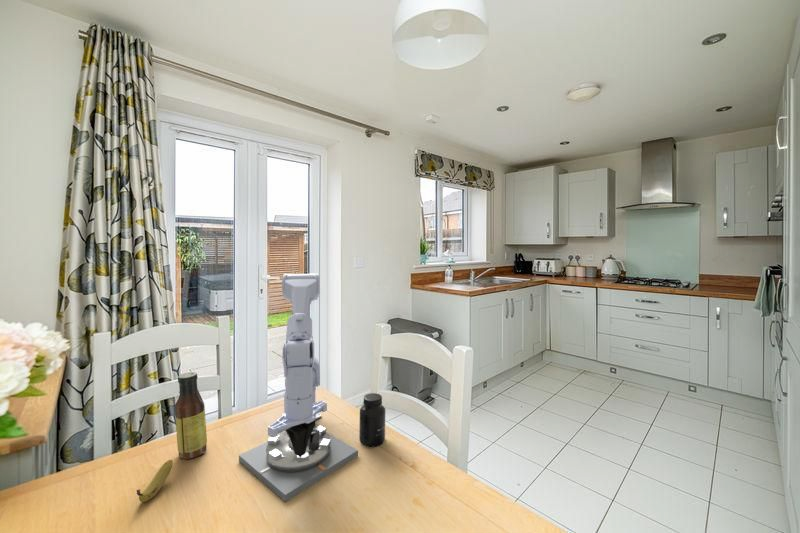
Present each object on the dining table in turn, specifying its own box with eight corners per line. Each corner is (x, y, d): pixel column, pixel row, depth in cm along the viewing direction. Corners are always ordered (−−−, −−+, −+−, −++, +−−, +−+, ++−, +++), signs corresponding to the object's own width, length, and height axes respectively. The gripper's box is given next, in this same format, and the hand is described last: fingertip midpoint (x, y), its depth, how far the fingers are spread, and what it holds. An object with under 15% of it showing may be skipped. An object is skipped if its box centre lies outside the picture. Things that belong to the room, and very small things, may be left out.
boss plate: (239, 461, 83) (238, 454, 83) (309, 427, 98) (309, 421, 98) (285, 502, 70) (285, 494, 70) (358, 455, 85) (358, 449, 85)
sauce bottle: (212, 446, 89) (210, 370, 87) (195, 461, 82) (193, 380, 81) (188, 444, 89) (186, 369, 88) (170, 459, 83) (167, 378, 82)
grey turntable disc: (253, 455, 82) (252, 427, 82) (305, 428, 94) (304, 404, 94) (292, 481, 73) (291, 450, 73) (343, 448, 85) (343, 421, 85)
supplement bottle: (384, 448, 88) (384, 403, 88) (357, 448, 89) (357, 402, 88) (386, 433, 95) (386, 391, 94) (361, 433, 95) (361, 391, 95)
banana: (166, 475, 78) (165, 458, 77) (177, 475, 78) (176, 458, 77) (131, 510, 67) (130, 491, 67) (144, 510, 67) (143, 491, 67)
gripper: (282, 412, 68) (283, 478, 69) (336, 387, 80) (336, 444, 81) (261, 402, 72) (262, 465, 73) (315, 380, 84) (315, 434, 85)
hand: (299, 453), depth 77 cm, fingers closed
